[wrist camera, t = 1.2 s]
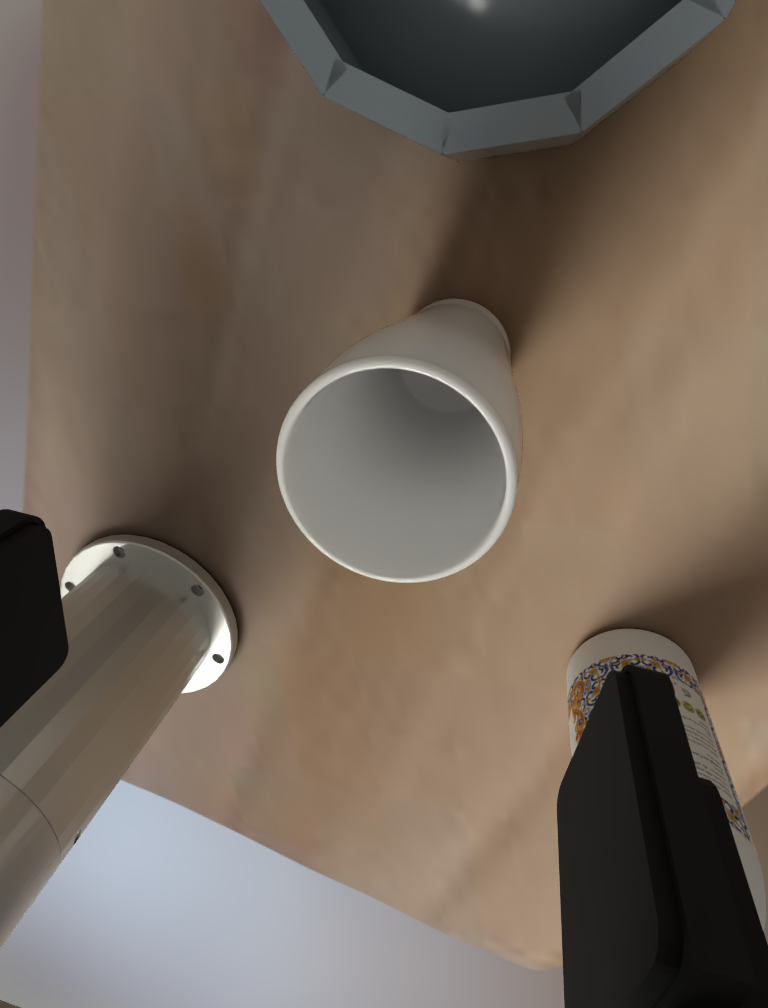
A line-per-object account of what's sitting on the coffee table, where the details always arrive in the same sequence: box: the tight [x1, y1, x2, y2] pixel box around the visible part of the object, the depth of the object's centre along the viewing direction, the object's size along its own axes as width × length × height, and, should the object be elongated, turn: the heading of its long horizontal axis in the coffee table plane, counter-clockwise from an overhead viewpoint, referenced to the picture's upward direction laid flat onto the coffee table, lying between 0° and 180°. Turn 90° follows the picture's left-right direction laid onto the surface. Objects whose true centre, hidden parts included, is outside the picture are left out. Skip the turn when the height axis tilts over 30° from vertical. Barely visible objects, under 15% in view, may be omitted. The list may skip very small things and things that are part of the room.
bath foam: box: [567, 629, 766, 932], centre depth 26 cm, size 7×7×20 cm
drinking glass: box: [276, 299, 523, 583], centre depth 22 cm, size 7×7×15 cm
